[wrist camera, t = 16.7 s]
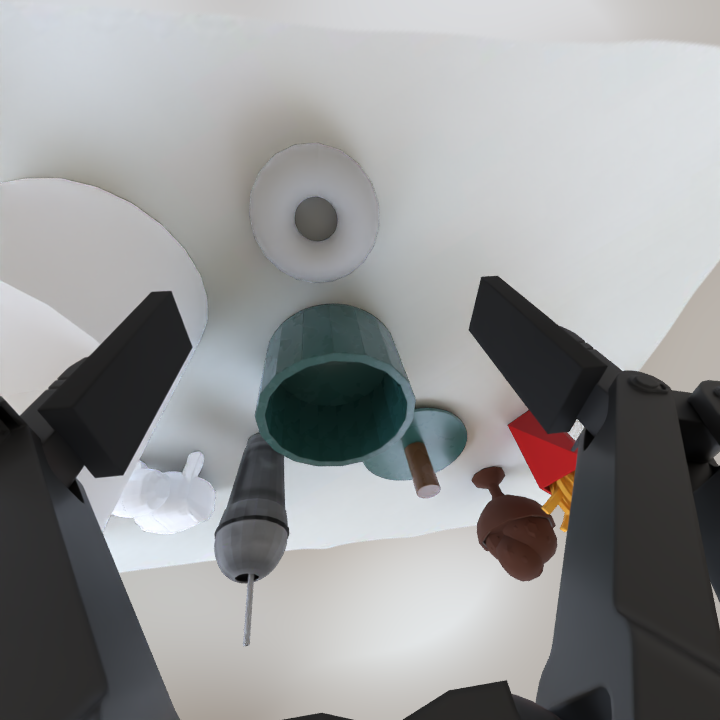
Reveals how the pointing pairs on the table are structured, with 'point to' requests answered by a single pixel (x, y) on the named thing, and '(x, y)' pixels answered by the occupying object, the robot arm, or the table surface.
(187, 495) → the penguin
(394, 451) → the tin lid
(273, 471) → the beverage cup
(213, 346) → the table surface
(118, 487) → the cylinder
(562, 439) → the french fries
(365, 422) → the tin
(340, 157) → the donut
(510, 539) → the ice cream bowl
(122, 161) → the table surface
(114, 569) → the robot arm
